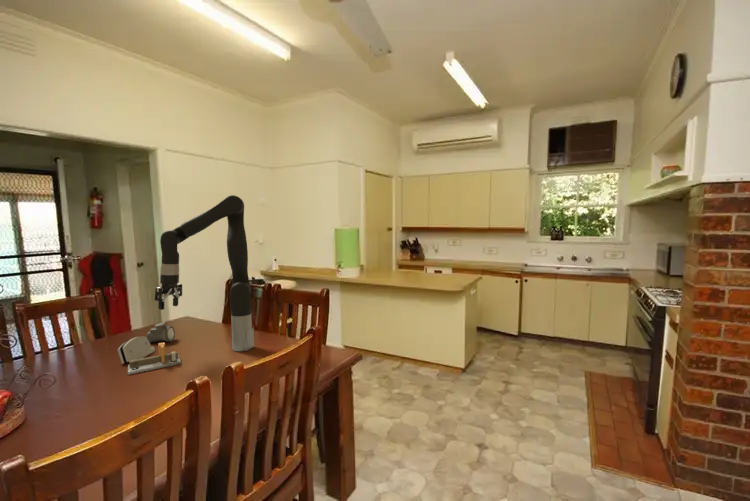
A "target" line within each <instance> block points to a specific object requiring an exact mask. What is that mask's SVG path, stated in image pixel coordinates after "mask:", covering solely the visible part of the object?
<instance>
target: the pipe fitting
mask: <svg viewBox="0 0 750 501" xmlns="http://www.w3.org/2000/svg"><path fill="white" fill-rule="evenodd" d="M146 337H147V339H148V341H149V343H157V342H163V341H165V342H166V343H171V342H173V341H174V340H175V337H176V332H175V328H174V326H172V325H168V326H167V322H166V321H162V322H158V323H155V324H154V327H152V328H150V329H149V331H148V332H147V333H146Z"/></svg>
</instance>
